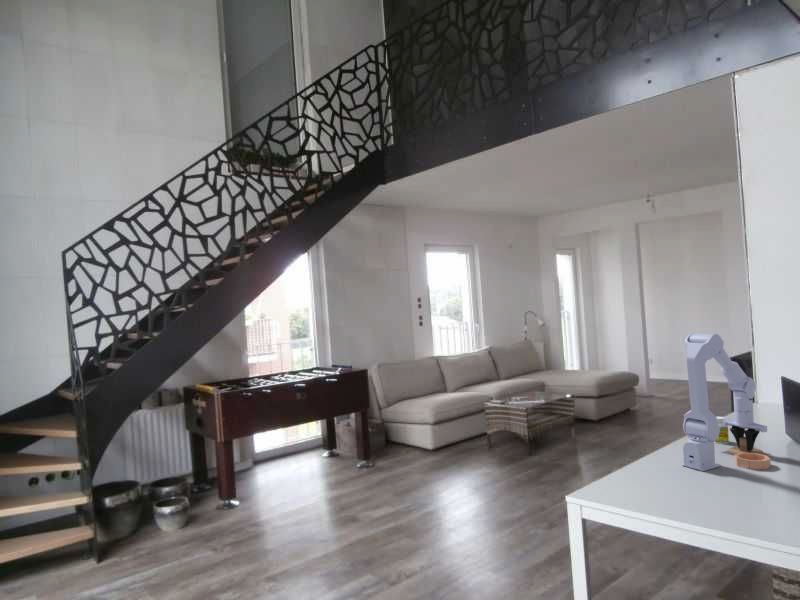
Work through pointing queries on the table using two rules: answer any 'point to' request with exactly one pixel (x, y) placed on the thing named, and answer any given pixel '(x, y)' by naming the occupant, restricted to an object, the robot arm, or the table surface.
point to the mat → (731, 454)
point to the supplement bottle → (722, 432)
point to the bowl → (752, 461)
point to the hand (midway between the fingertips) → (745, 448)
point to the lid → (743, 448)
